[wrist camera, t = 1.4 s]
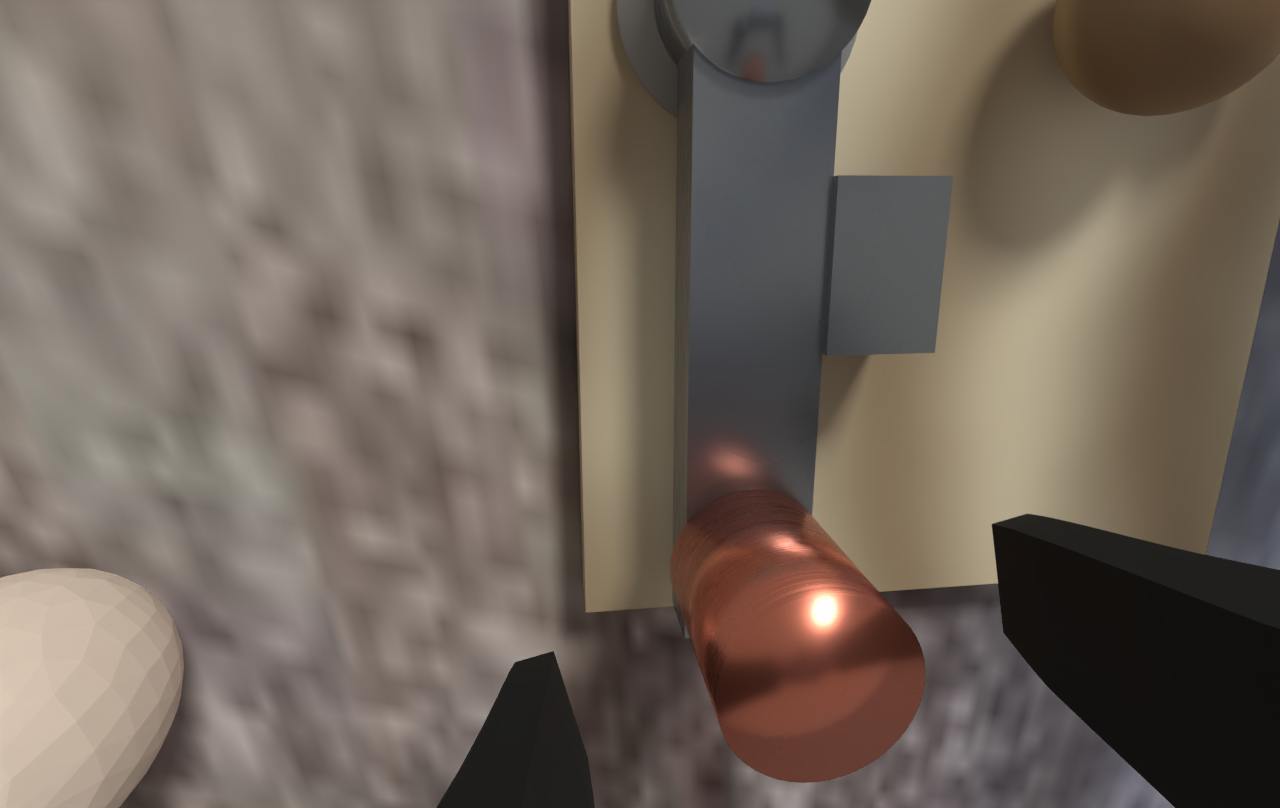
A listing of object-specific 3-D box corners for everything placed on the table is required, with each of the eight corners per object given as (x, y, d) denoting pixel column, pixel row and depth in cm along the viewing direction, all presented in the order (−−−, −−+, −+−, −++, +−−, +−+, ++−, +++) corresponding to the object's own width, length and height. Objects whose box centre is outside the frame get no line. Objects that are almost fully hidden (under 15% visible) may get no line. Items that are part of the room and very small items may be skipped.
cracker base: (1296, -121, 15) (1637, -272, 10) (1162, 546, 19) (1364, 656, 14) (563, -166, 13) (575, -374, 8) (582, 585, 17) (597, 726, 12)
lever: (926, -96, 13) (1195, -313, 7) (866, 582, 16) (1022, 760, 11) (653, -111, 12) (737, -355, 7) (651, 596, 15) (707, 793, 10)
